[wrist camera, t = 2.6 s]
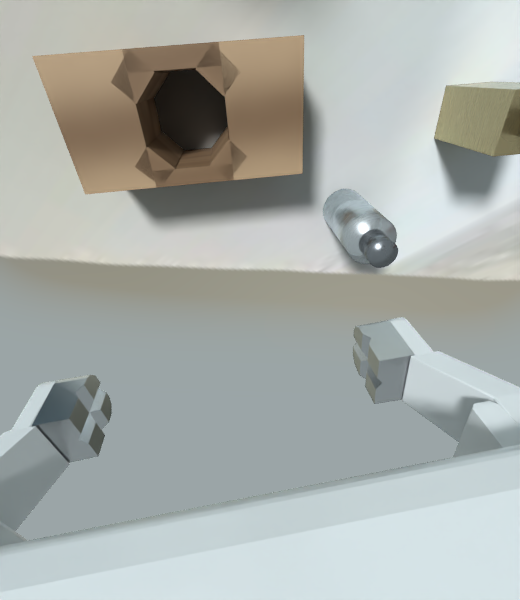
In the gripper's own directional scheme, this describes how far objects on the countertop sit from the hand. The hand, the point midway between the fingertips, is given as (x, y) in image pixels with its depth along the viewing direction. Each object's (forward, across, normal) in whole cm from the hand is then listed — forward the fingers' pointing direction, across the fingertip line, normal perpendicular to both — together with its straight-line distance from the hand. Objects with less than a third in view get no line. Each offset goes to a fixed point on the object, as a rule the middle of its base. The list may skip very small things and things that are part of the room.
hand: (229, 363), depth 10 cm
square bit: (+20, -20, -3) cm, 28 cm away
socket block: (+20, +1, -6) cm, 21 cm away
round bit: (+20, -11, +3) cm, 23 cm away
